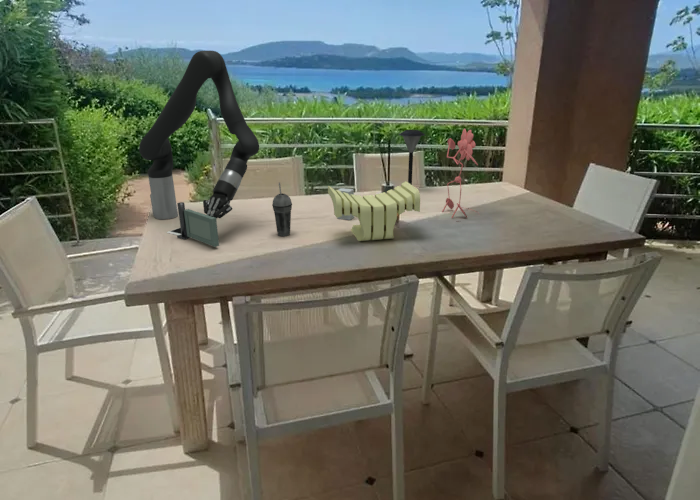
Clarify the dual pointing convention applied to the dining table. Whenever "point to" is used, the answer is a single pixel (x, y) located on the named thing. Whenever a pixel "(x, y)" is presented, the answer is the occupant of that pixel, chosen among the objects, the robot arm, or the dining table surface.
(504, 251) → the dining table surface
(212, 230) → the green rectangular panel
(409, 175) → the solar garden light
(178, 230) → the cell phone
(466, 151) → the figurine
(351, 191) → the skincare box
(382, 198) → the slatted curved stool
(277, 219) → the beverage cup
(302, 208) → the dining table surface
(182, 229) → the post
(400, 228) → the dining table surface
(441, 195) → the dining table surface
